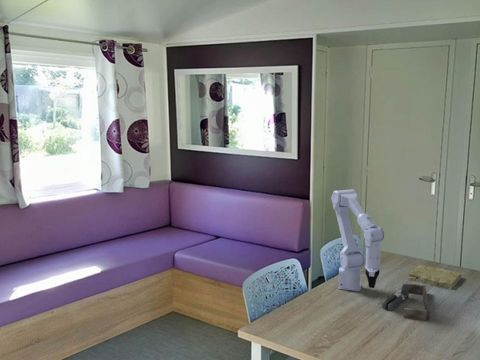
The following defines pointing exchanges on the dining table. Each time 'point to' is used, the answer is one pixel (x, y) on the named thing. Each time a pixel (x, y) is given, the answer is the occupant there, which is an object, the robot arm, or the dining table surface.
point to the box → (416, 312)
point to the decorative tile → (435, 276)
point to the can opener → (396, 298)
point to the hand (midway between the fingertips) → (371, 287)
